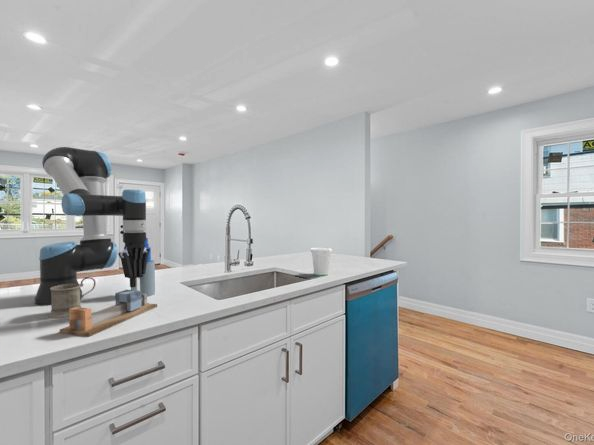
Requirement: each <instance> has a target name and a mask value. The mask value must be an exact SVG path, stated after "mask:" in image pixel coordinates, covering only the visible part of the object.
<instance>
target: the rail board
mask: <svg viewBox="0 0 594 445" xmlns="http://www.w3.org/2000/svg"><path fill="white" fill-rule="evenodd" d="M157 307H158V304H157V303H150V302H149V303H148V297H147V294H143V293H141V307H140V308H138V309H135V310H133V311H127V303H126V302H122V303H119V304H116V303H115V304H114V305H112V306H108V307H106V308H103V309H100V310H97V311H95V312H92V308H87V307H81V308H80V307H74V308H71V309H69V317H68V319H69V322H68V323H69V325H68V326H64V327H62V328H59V333H60V334H66V335H73V336H74V335H76V336H81V337H82V336H83V337H91V336H93V335H96V334H98V333H100V332H102V331H105V330H106V329H110V328H112V327H114V326H117V325H119V324H121V323H123V322H125V321H128V320H130V319H132V318H135V317H137V316H139V315H141V314H144V313H146V312H148V311H150V310H153V309H155V308H157Z"/></svg>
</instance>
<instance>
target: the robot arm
mask: <svg viewBox="0 0 594 445" xmlns="http://www.w3.org/2000/svg"><path fill="white" fill-rule="evenodd" d="M41 163H42V167H43V169H44V172H46V173H47V175H49V176H50V177H52V179H53V180H54V182H55V184H56V185H57V187H58V189H59V190H60V192H61V194H62V198H61V209H62V212H63V214H65V215H66V216H75V217H81V216H82V226H83V227H82V228H83V237H82V238H81V239H80V240H79V244H77V243H76V241H64V242H56V243H51V244H48V245H44V246H42V247H41V248H40V251H39V257H38V259H39V274H40V275H39V276H40V279H39V280H40V282H39V286H38V287H37V291H36V294H35V296H34V304H36V305H41V306H44V305H45V306H47V305H51V290H50V288H51V287H54V286H58V285H64V284H80V283H79V281H78V279H77V278H78V277H77V274H78V273H79V272H80V273H81V272H85V271H94V270H95V271H96V270H103V269H108V268H111V267H113V265H114V264H115V263H116V261H117V258H118V257H119V258H120V260H121V266H122V271H123V275H124V278H127V279H129V287H130V290H138V291H140V285H141V277H143V276H144V275H143V274H145V271H146V265H147V259H148V254H149V252H150V249H147V248H145V244H144V242H146V238H147V232H145V231H146V230H147V229H146V228H147V223H146V222H147V218H146V217H147V205H146V204H147V199H146V192H145V191H144V190H143V189H123V190H122V192H121V195H105V194H104V193H105V191H104V184H105V183H106V182H107V178H110V176H111V175H112V163H111V160H110V158H109V156H108V155H107V154H105V153H104V152H99V151H96V150H89V149H81V148H75V147H70V146H60V147H59V146H58V147H55V148H52V149H51V150H49V151H47V152H46V153H45V154H44V156H43V158H42V162H41ZM107 216H112V217H113V216H114V217H115V216H118V217H119V216H120V217H121V216H122V231H123V233H122V243H124V247H123V251H120V252H119V251H118V246H117V243H116V242H113V241H112V237H111V236H109V235H108V234H107V233H108V231H107V220H106V218H107ZM81 288H82V287H80V297H81V296H82V295H83V290H82V289H81Z"/></svg>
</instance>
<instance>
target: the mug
mask: <svg viewBox="0 0 594 445" xmlns="http://www.w3.org/2000/svg"><path fill="white" fill-rule="evenodd" d="M88 279H89V280H92V281H93V287H92V288H91V289H90V290H89V291H86V292H85V293H82V296H81V297H80V288H83V287H84V281H85V280H88ZM95 288H96V280H95V278H94V277H90V276H89V275H86V276H83V278H82V280H81V281H80V283H79V284H64V285H58V286H54V287H51V288H50V290H51V304H50V305H51V311H50V313H49V314H48V316H47V317H48V318H49V319H64V318H69V309H71V308H74V307H80V308H82V307H81V301H82V300H83V298H84V296H86V295H87V294H89V293H91V292H92V291H93V290H94V289H95Z"/></svg>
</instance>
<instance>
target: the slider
mask: <svg viewBox="0 0 594 445" xmlns="http://www.w3.org/2000/svg"><path fill="white" fill-rule="evenodd" d="M114 294H115V305H116V304H119V303H122V302H126V303H127V311H133V310H135V309H138V308H140V307H141V291H138V290H131V289H124V290H121V291H118V292H115V293H114Z"/></svg>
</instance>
